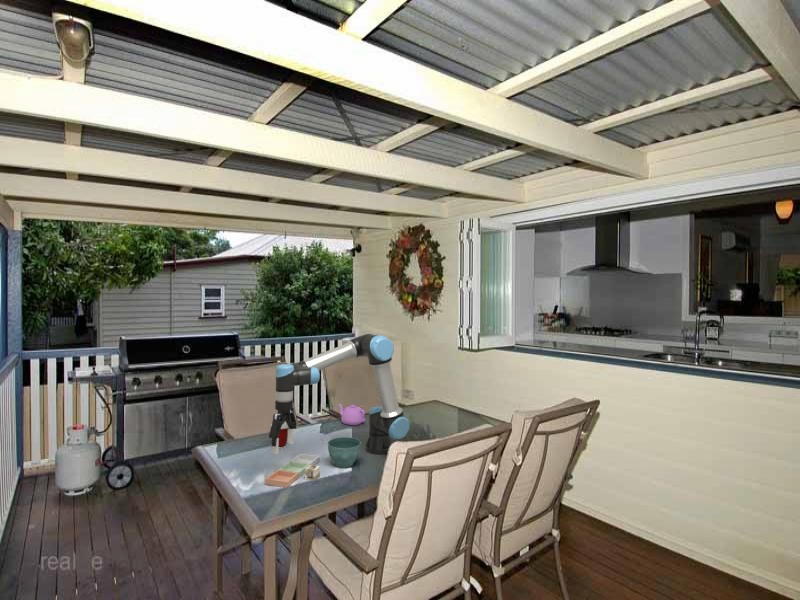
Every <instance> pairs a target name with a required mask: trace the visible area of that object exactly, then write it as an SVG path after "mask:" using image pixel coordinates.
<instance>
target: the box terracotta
mask: <svg viewBox="0 0 800 600" xmlns="http://www.w3.org/2000/svg"><path fill="white" fill-rule="evenodd" d="M299 479H300V478H299V473H296V472H289V471H282V470H278V469H276V470H275V471H274V472H273V473H271V474H270V475H269V476H267V477H266V478H264V485H265V486H266V485H267V486H272V487H280V488H284V489H287V488H289V487H290V486H291V485H292V484H294V483H295V482H296V481H298V480H299Z"/></svg>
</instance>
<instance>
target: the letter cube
mask: <svg viewBox="0 0 800 600" xmlns="http://www.w3.org/2000/svg"><path fill="white" fill-rule="evenodd" d="M320 477H321V465H317V464H316V465H309V466H308V467H307V468H305V474H304V481H313V482H316V481H318V479H319V478H320Z"/></svg>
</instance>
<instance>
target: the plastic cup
mask: <svg viewBox="0 0 800 600" xmlns="http://www.w3.org/2000/svg"><path fill="white" fill-rule="evenodd" d="M271 426H272V423H270V427H271ZM288 429H290V428H289V427H288V425H287V423H286V421H285V422H284V424H282V427H281V429H280V432H279V435H278V437H277V438H279V440H278V447H282V448H285V447H286V444H287V440H288ZM284 446H285V447H284Z"/></svg>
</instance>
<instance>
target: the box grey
mask: <svg viewBox="0 0 800 600" xmlns="http://www.w3.org/2000/svg"><path fill="white" fill-rule="evenodd" d="M320 458H321V456H320V455H314V454H313V455H312V454H304V453H300V454H298V455H296V456H295V457H294V458H292V459H291V460H290V462H298V463H305V464H310V465H316V466H317V464H318V463H320V460H321V459H320Z"/></svg>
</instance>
